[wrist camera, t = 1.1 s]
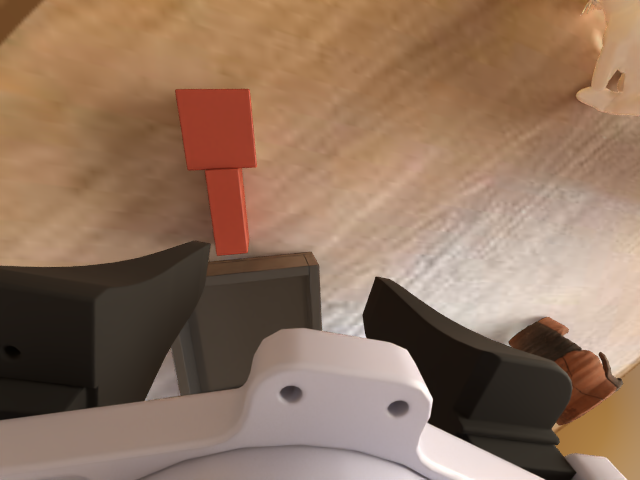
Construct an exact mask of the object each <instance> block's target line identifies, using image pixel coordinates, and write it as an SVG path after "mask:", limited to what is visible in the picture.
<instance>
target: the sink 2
mask: <svg viewBox="0 0 640 480" xmlns="http://www.w3.org/2000/svg"><path fill="white" fill-rule="evenodd" d="M294 328H307V329H313V330H319V331H322V320H321V297H320V274H319V264H318V262H317V260H316V259H315V257H314V255H313V253H312V252H305V253H294V254H284V255H274V256H264V257H253V258H243V259H233V260H223V261H213V262H208V267H207V274H206V282H205V288H204V290H203V292H202V295H201V297H200V299H199V302H198V304H197V306H196V308H195V309H194V311H193V312H192V314H191V316H190V317H189V319H188V320H187V322H186V324H185V325H184V327H183V328H182V330H181V332H180V333H179V335H178V336H177V338H176V339H175V341H174V343H173V344H172V346H171V351H172V355H173V360H174V365H175V370H176V375H177V380H178V385H179V390H180V395H181V396H185V395H193V394H200V393H208V392H215V391H222V390H230V389H237V388H240V387H242V386H243V385H244V384H245V383H246V382H247V380H248V377H249V375H250V371H251V366H252V362H253V357H254V354H255V352H256V351H257V349H258V347H259V346H260V344H261V342H262V341H263V339H265V338H266V337H268V336H270V335H272V334H274V333H276V332H277V331H279V330H281V329H294Z"/></svg>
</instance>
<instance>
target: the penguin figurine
mask: <svg viewBox="0 0 640 480" xmlns="http://www.w3.org/2000/svg"><path fill="white" fill-rule="evenodd" d="M591 4H593V5H595V9H597V10H601V9H603V11H604V14H605V21H606V23H607V28H606V30H605V33H604V35H603V47H602V50H601V52H600V55H599V57H598V60H597V63H596V66H595V70H594V73H593V77H592V82H591V86H592V87H587V88H584V89H581V90H579V91H578V92H577V94H576V98H577V100H579V101H580V102H582V103H584V104H586V105H589V106H591V107H594V108H595V109H596V110H598V111H600V112H606V113H609V114H617V115H635V116H640V0H589V1H588V3H587V4H586V6H585V8H584V10H583V12H584V11H585V10H586V8H587V7H588V10H587V13H588V11H589V8H590V6H591ZM593 10H594V7H593ZM583 12H582V14H583ZM582 14H581V15H582ZM617 70H619V72H620V73H622V74H621V76H620V78H619V81H618V84H617V89H618V91H619V92H613V91H610V90H609V89H607V88H605V87H606V86H607V84H608V81H609V80H610V79H611V77H612V76H613V75H614V74H615V72H616V71H617Z"/></svg>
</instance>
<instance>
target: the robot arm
mask: <svg viewBox="0 0 640 480" xmlns="http://www.w3.org/2000/svg"><path fill="white" fill-rule="evenodd" d="M210 245H211V244H210V243H205V242H200V241H191V242H188V243H185V244H182V245H179V246H176V247H173V248H170V249H167V250H164V251H161V252H157V253H154V254H150V255H147V256H143V257H140V258H135V259H131V260H125V261H120V262H114V263H106V264H97V265H88V266H73V267H19V266H0V480H627V479H626V478H625V477H624V476H623V475H622V474H621V473H620V472H619V471H618V470H617V469H616V468H615V466H614V465H613V464H612V463H611V462H610V461H609V460H608V459H607V458H606V457H601V456H593V455H584V454H577V453H576V454H569V455H567V456H565V457H564V456H563V455H562V454H561V453H560V451H559V450H558V449H557V448H556V446H555V445H558V444H559V442H560V441H559V438H558V437H557V436H556V434H555V433H554V432H553V431H552V430H551V429H552V427H553V426H554V424H555V423H556V421H557V420H558V418H559V417H560V416H561V414H562V413H563V411H564V410H565V408H566V407H567V405H568V403H569V401H570V399H571V395H572V389H573V388H572V381H571V379H570V377H569V376H568V374H567V373H566V372H565V371H564V370H563V369H562V368H561V367H560V366H558V365H557V364H556V363H555V362H554V361H552V360H549V359H546V358H543V357H540V356H537V355H533V354H530V353H527V352H524V351H521V350H518V349H515V348H512V347H509V346H507V345H504V344H501V343H499V342H496V341H494V340H491V339H489V338H487V337H484V336H482V335H480V334H478V333H476V332H473V331H471V330H469V329H467V328H465V327H463V326H461V325H459V324H458V323H456V322H454V321H452V320H450V319H449V318H447V317H445V316H444V315H442V314H440V313H439V312H437V311H436V310H434V309H433V308H431V307H430V306H428V305H427V304H425V303H424V302H422V301H421V300H419V299H418V298H417V297H415V296H414V295H413V294H411V293H410V292H408V291H407V290H406V289H404V288H403V287H401V286H400V285H398V284H397V283H395V282H394V281H392V280H390V279H386V278H381V277H375V280H374V283H373V286H372V289H371V292H370V295H369V298H368V301H367V303H366V306H365V309H364V312H363V322H364V329H365V334H366V338H361V337H355V336H349V335H343V334H337V333H331V332H325V331H319V330H313V329H307V328H294V329H281V330H279V331H277V332H276V333H274V334H272V335H270V336H268V337H266V338H265V339H263V341H262V342H261V344H260V346H259V347H258V349H257V351H256V352H255V354H254V357H253V362H252V366H251V371H250V375H249V377H248V380H247V382H246V383H245V384H244V385H243V386H242V387H240V388H237V389H230V390H222V391H215V392H208V393H200V394H193V395H185V396H178V397H170V398H163V399H155V400H148V401H145V399H146V397H147V394H148V392H149V390H150V388H151V386H152V384H153V381H154V379H155V377H156V375H157V373H158V371H159V369H160V367H161V365H162V363H163V361H164V358H165V356H166V355H167V353H168V351H169V349H170V347H171V346H172V344H173V343H174V341H175V339H176V338H177V336H178V335H179V333H180V332H181V330H182V328H183V327H184V325H185V324H186V322H187V320H188V319H189V317H190V316H191V314H192V312H193V311H194V309H195V308H196V306H197V304H198V302H199V299H200V297H201V295H202V292H203V290H204V288H205V282H206V274H207V267H208V260H209V253H210Z"/></svg>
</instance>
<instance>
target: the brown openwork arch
mask: <svg viewBox="0 0 640 480" xmlns="http://www.w3.org/2000/svg"><path fill="white" fill-rule="evenodd" d="M568 331H569V329H568V328H567V327H565V326H564V325H562V324H560V323H558V322H557V321H555V320H553V319H551V318H550V317H545V318H543V319H541V320H539V321H538V322H535V323H534V324H532V325H529V326H527V327H526V328H525V329H523V330H521V332H519V333H518V334H517V335H515V336H514V337H513V338H512V339H511V340H510V341H509V344H510V346H511V347H513V348H515V349H518V350H521V351H524V352H527V353H530V354H533V355H537V356H540V357H543V358H546V359H549V360H552V361H554V362H555V363H556V364H557V365H558V366H560V367H561V368H562V369H563V370H564V371H565V372H566V373H567V374H568V376H569V377H570V379H571V381H572V388H573V389H572V395H571V399H570V401H569V403H568V405H567V407H566V408H565V410H564V411H563V413H562V414H561V416H560V417H559V418H558V420H557V421H556V423H557V424H558V425H563V424H567V423H570V422H572V421H573V420H576V419H578V418H579V417H581V416H582V415H584V414H585V413H587V412H589V411H590V410H591V409H593V408H594V407H596V406H597V405H599V404H600V403H601V402H602V401H603V400H606V399H607V398H608V397H609V396H611V395H612V394H613V393H614V392H615V391H617V390H619V388H620V387H621V385H622V384H623V382H622V379H621V378H615V377H614V376H613V375H612V374H611V368H610V366H609V362H608V360H607V358H606V356H605V355H604V354H603V353H602V352H599V357H600V358H601V360H602V364H603V366H602V364H601V362H600V360H599V358H598V356H596V355H595V354H593V353H592V352H591V351H588V350H581V347H579V346H578V345H576V344H575V343H573V342H571V341H570V340H569V339H566V338H564V337H563V335H564V334H566V333H568Z"/></svg>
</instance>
